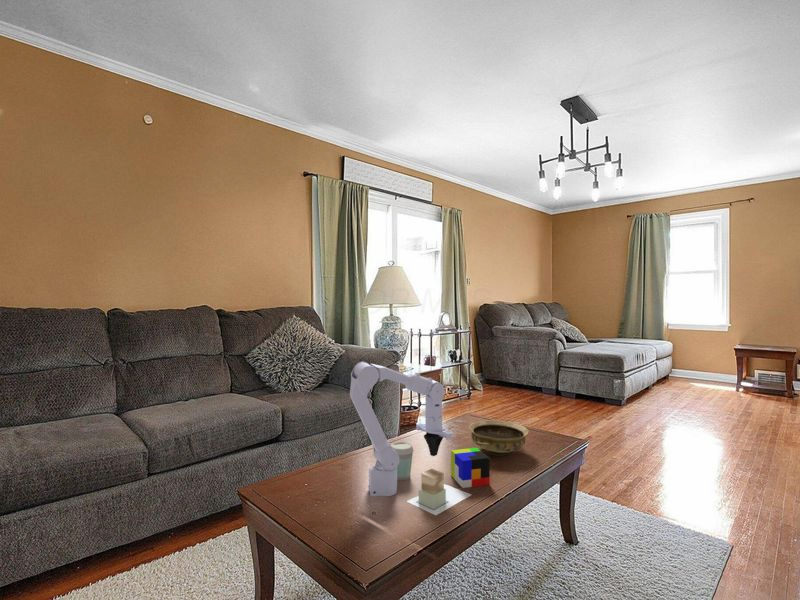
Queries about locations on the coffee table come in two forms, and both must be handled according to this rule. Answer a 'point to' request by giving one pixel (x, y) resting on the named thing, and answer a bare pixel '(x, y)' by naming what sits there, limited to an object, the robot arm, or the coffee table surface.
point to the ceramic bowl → (498, 436)
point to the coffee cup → (403, 459)
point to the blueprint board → (451, 499)
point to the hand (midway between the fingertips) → (433, 455)
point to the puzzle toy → (470, 467)
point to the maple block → (432, 481)
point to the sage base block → (432, 498)
